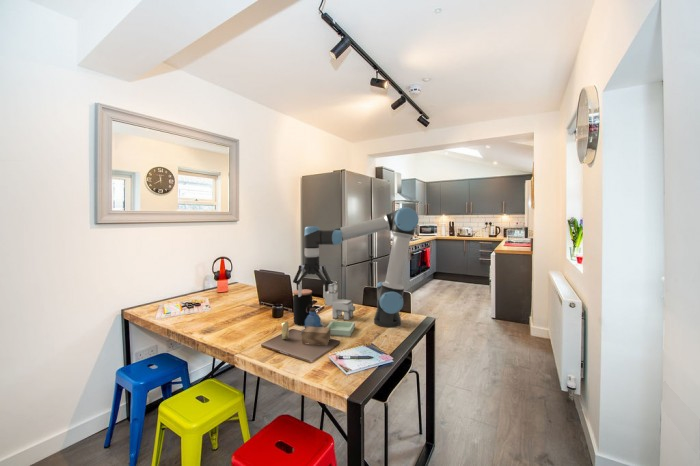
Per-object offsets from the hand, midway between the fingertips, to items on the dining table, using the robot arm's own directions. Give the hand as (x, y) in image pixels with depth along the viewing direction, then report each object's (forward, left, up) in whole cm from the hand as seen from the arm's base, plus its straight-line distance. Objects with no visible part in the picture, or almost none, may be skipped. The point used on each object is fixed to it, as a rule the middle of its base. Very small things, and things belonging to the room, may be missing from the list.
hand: (312, 296), depth 153 cm
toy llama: (-9, -25, -18) cm, 32 cm away
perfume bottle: (0, 0, -18) cm, 18 cm away
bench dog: (+10, +12, -18) cm, 24 cm away
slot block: (0, 0, -18) cm, 18 cm away
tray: (-14, -3, -18) cm, 23 cm away
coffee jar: (+10, -12, -18) cm, 24 cm away
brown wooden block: (-6, +12, -18) cm, 23 cm away
